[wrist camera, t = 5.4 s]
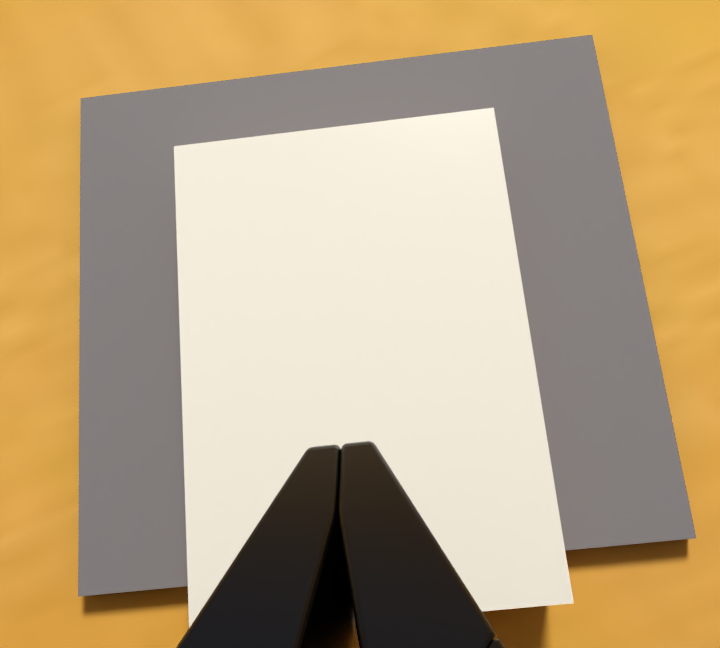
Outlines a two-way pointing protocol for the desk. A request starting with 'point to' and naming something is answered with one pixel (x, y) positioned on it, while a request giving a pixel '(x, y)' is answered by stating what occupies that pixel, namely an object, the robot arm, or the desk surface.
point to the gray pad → (536, 261)
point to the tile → (364, 341)
